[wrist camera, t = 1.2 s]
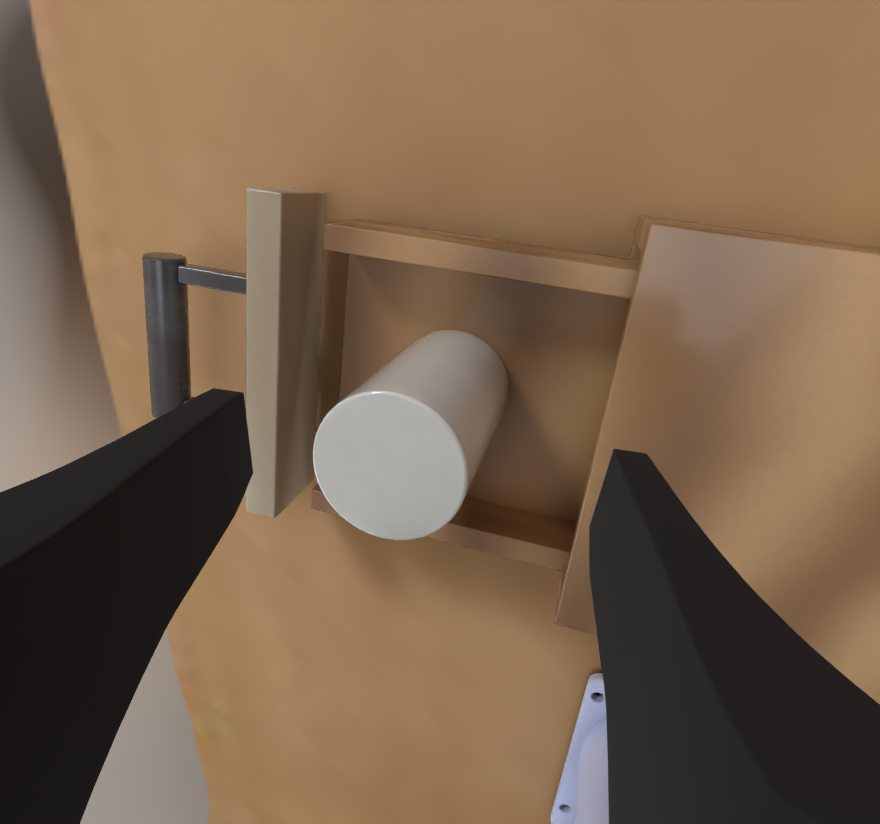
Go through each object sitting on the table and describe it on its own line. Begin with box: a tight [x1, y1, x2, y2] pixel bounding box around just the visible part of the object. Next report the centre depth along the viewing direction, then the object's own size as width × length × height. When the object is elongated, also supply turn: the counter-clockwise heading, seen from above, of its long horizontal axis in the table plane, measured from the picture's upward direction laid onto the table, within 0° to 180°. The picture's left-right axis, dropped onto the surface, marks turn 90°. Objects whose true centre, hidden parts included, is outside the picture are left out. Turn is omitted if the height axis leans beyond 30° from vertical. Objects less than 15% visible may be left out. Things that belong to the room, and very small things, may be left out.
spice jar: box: [313, 330, 509, 540], centre depth 18 cm, size 4×4×7 cm
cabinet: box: [555, 216, 880, 704], centre depth 18 cm, size 15×13×5 cm
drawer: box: [142, 188, 639, 572], centre depth 21 cm, size 18×11×3 cm, turn 83°
